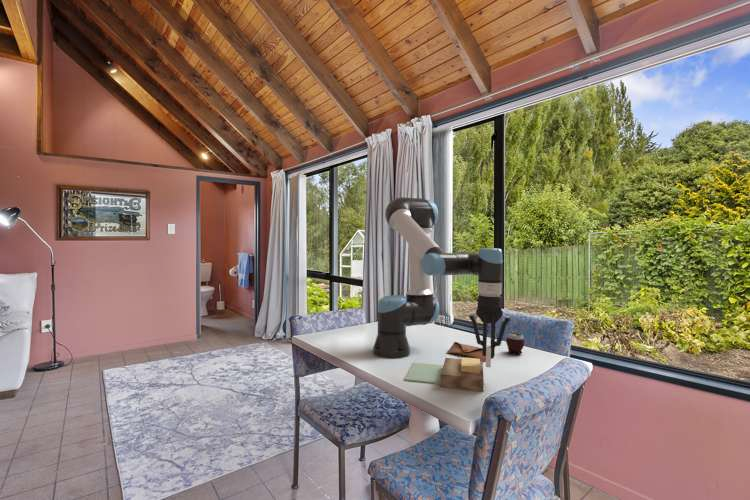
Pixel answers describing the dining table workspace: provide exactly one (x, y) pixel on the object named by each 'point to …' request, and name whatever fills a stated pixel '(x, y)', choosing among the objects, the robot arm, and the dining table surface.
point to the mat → (425, 373)
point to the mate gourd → (515, 341)
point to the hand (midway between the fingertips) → (488, 365)
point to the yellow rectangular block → (470, 365)
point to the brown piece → (460, 376)
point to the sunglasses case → (467, 351)
